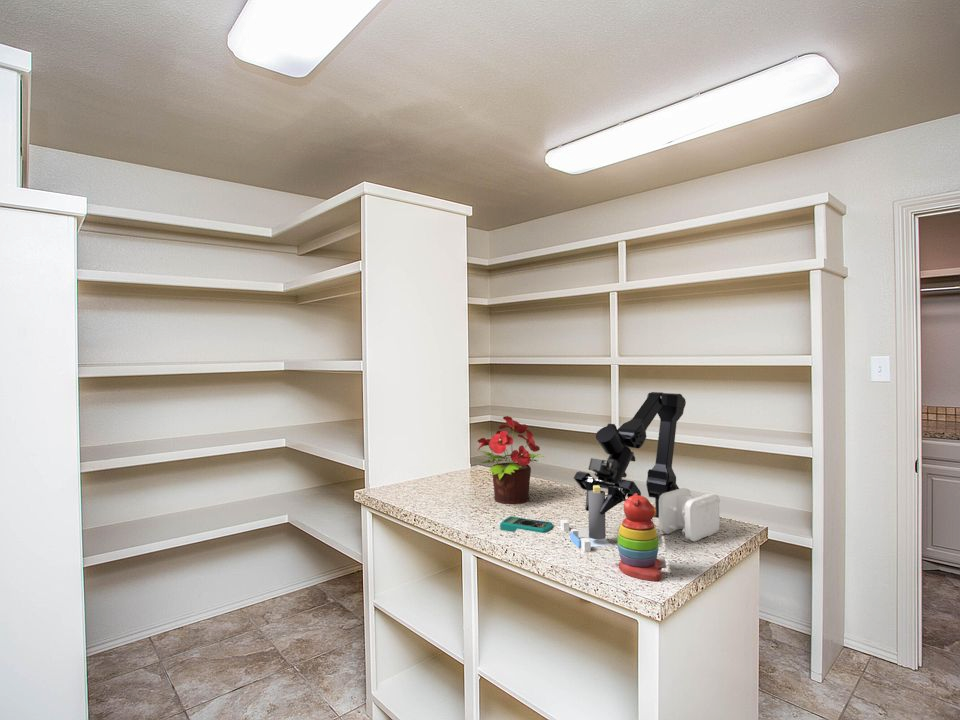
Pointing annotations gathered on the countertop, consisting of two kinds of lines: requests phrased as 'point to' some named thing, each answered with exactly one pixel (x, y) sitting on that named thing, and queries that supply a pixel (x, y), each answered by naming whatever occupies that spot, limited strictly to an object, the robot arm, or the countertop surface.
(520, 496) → the potted plant
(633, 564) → the stacking bear
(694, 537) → the cable organizer
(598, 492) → the grey cylinder
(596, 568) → the countertop surface
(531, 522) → the digital multimeter
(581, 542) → the board
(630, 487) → the robot arm
